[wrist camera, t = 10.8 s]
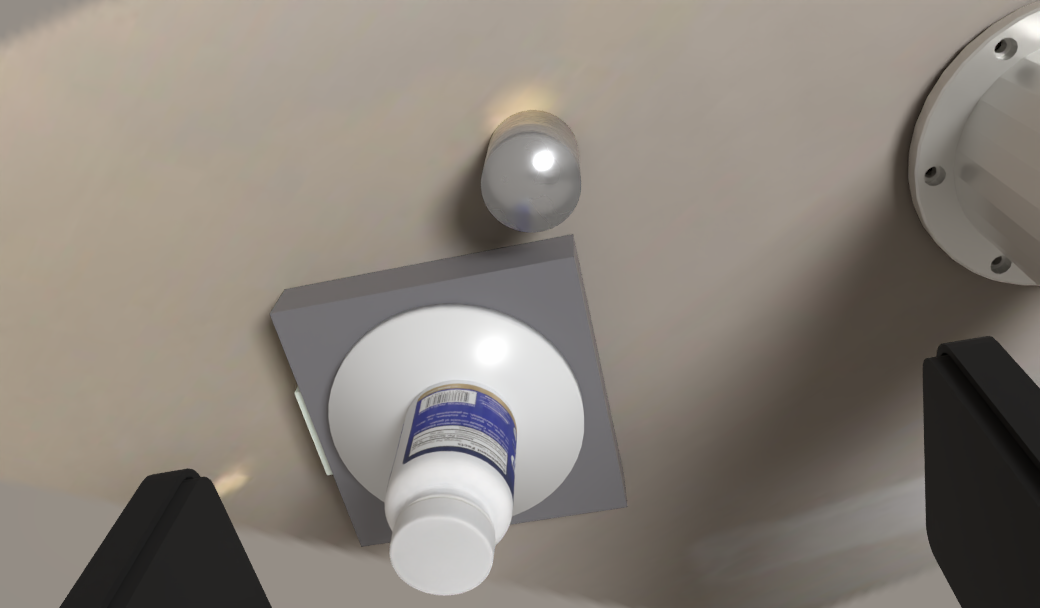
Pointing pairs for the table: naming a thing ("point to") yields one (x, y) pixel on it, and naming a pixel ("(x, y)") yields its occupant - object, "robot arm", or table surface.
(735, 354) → the table surface
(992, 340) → the robot arm
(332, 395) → the scale
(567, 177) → the cylinder
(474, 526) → the pill bottle
